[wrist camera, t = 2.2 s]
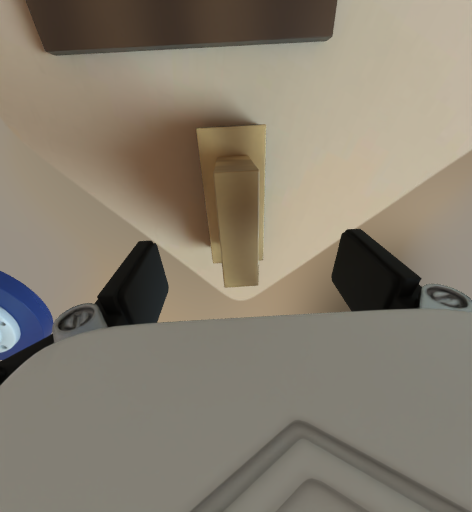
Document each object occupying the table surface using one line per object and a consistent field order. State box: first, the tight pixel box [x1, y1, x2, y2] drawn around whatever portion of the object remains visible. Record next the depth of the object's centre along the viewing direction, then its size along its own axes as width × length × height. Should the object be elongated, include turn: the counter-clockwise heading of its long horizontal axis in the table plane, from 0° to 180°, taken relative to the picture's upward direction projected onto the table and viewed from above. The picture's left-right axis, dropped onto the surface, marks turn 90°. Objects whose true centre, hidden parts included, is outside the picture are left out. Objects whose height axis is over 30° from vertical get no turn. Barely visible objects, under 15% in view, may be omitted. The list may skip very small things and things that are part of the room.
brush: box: [196, 124, 266, 288], centre depth 17 cm, size 5×12×10 cm, turn 3°
